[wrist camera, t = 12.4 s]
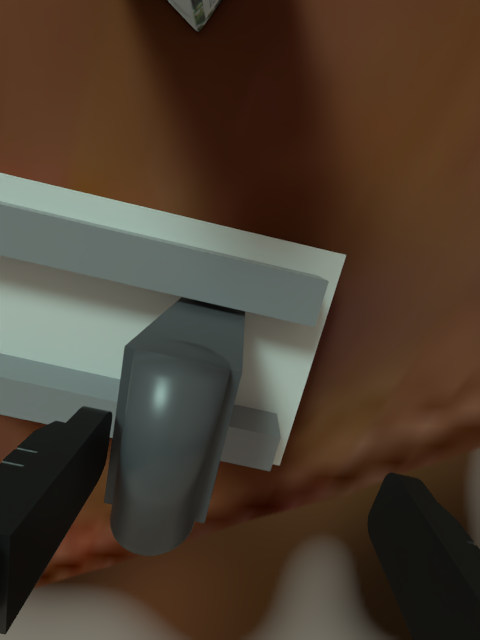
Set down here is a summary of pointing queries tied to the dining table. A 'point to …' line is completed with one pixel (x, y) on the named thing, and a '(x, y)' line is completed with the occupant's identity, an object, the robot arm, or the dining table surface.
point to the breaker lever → (172, 423)
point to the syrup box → (195, 10)
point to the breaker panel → (149, 306)
